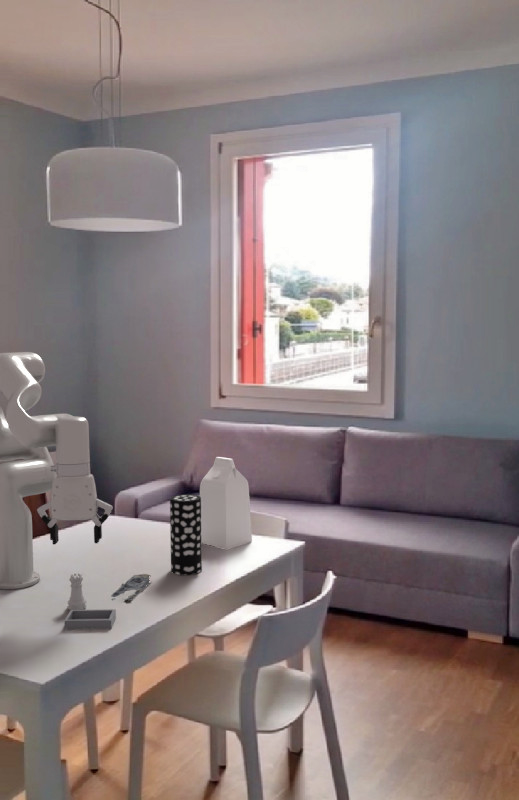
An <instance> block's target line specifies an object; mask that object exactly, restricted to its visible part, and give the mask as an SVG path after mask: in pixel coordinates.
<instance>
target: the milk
mask: <svg viewBox="0 0 519 800" xmlns="http://www.w3.org/2000/svg"><path fill="white" fill-rule="evenodd" d="M234 461H235V460H234V459H233V458H229V457H223V456H216V457H215V459H214V462H213V465H212V467H211V468H209V470H208V471H207V473H206V474H205V475H204V476H203V478H202V480H201V481H200V484H199V496H200V497H201V543H203V544H202V545H205V544H207V545H206V546H209V545H212V546H211V547H213V546H215V547H214V548H218V547H219V548H218V549H222V548H223V549H222V550H226V549H227V550H230V549H233V548H236V547H239V546H243V545H246V544H249V543H252V542H253V536H252V520H251V519H252V518H251V505H250V504H251V503H250V502H251V501H250V486H249V482H248V479H247V478H246V477H245V476H244V475H243V474H242V473H241V472H240V471H239V470H238V469H237V468H236V465H235V462H234ZM229 548H230V549H229Z"/></svg>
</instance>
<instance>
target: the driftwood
mask: <svg viewBox="0 0 519 800" xmlns="http://www.w3.org/2000/svg"><path fill="white" fill-rule="evenodd" d="M149 576H150V577H151V575H150V574H148V573H141V574H134V575H132V576H130V578H128V580H126V582H125V583H123V584H122V585H121V586H120V587H119V588H118V589H117V590H115V591H114V592H113V593H112V594H111V595H110V597H112V598H111V601H114V600H116V597H118V596H120V595H122V594H124V593H126V592H128V591H135V592H134V594H131V595H128V596H127V598H123V601H124V602H128V601H129V602H131V601H133V600H134V599H135V598H136V597H137V596H138V595H139V594H140V593H141V592H142V591H144V590H145V589H146V588H147V587H148V586H149V585H151V583H149V581H150V580H151V579H150V577H149ZM149 579H150V580H149ZM146 585H148V586H146Z"/></svg>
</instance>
